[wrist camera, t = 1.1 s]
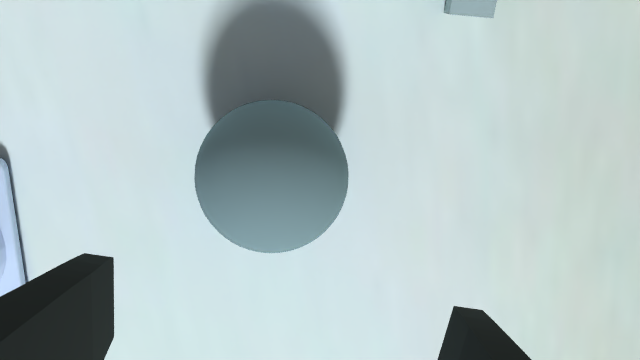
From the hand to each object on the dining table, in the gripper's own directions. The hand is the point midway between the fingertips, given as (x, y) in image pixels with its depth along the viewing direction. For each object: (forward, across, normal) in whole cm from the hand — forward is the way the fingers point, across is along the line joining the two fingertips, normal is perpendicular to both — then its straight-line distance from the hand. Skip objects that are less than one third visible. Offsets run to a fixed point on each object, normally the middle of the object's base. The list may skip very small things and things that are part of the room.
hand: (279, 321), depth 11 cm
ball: (+8, +1, 0) cm, 8 cm away
